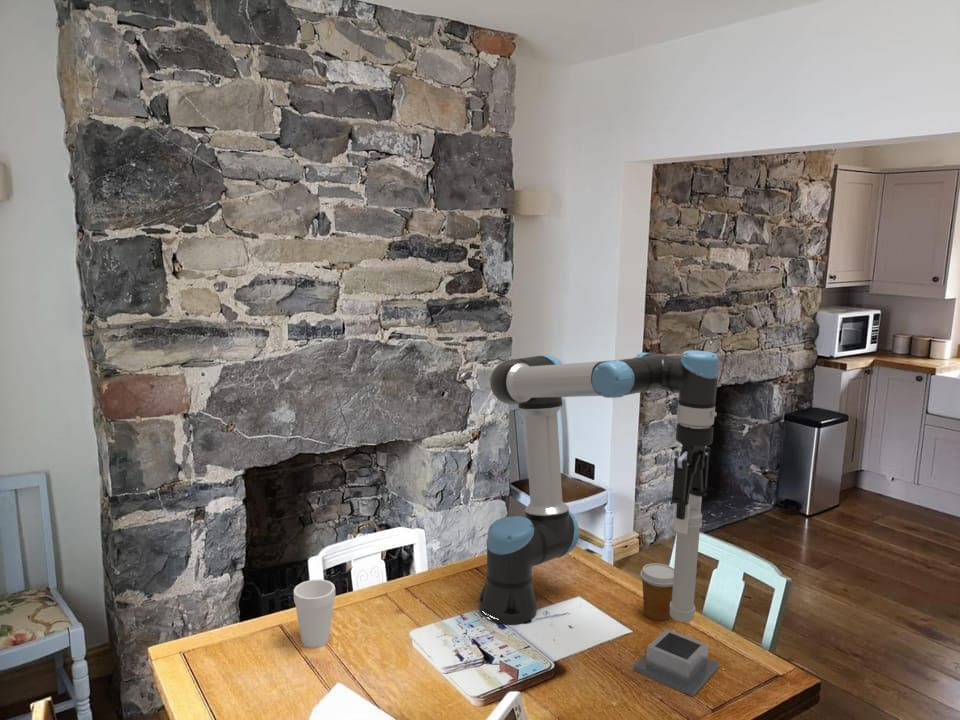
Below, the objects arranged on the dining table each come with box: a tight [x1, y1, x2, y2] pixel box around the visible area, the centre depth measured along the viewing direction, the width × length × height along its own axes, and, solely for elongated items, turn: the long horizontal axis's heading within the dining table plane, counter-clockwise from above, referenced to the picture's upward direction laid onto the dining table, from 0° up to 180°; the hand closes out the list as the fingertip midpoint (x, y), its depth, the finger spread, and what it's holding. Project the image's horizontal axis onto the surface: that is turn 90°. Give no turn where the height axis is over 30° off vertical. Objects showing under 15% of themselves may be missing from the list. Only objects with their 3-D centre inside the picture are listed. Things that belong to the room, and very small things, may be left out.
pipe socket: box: [632, 628, 720, 698], centre depth 158 cm, size 14×14×6 cm
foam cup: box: [293, 579, 336, 649], centre depth 165 cm, size 10×9×13 cm
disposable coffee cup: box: [640, 562, 674, 621], centre depth 181 cm, size 10×10×12 cm
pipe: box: [669, 502, 703, 623], centre depth 154 cm, size 6×6×30 cm
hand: (687, 527), depth 153 cm, fingers closed on pipe, 5 cm apart
